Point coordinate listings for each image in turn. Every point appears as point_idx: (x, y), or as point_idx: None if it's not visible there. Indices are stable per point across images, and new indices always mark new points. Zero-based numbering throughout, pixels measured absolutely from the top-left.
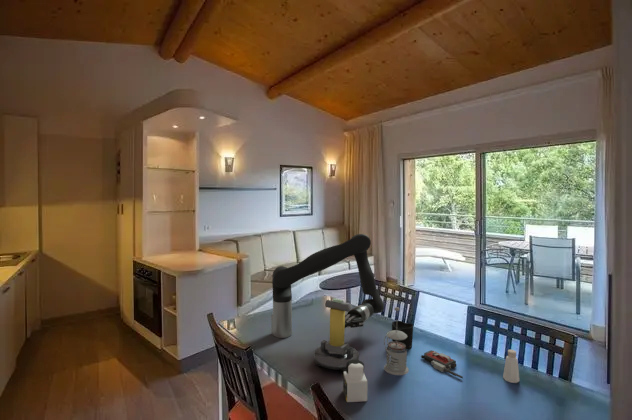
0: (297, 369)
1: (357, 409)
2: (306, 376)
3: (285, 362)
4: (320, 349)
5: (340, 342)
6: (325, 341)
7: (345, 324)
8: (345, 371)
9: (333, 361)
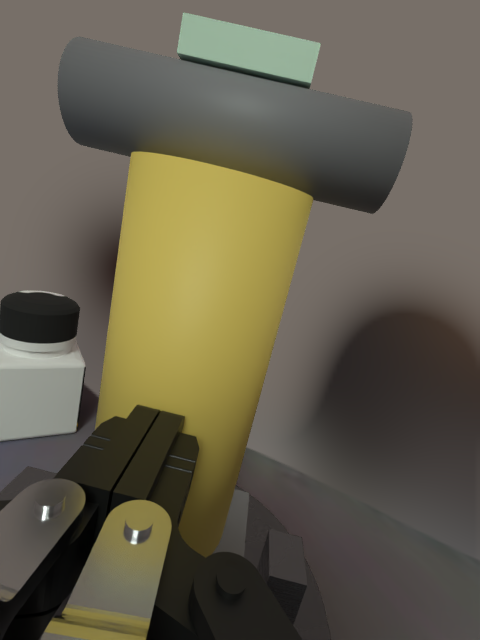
0: (315, 524)
1: None
2: (247, 485)
3: (415, 569)
4: (298, 615)
5: None
6: (277, 560)
7: (93, 437)
8: (77, 362)
9: None
